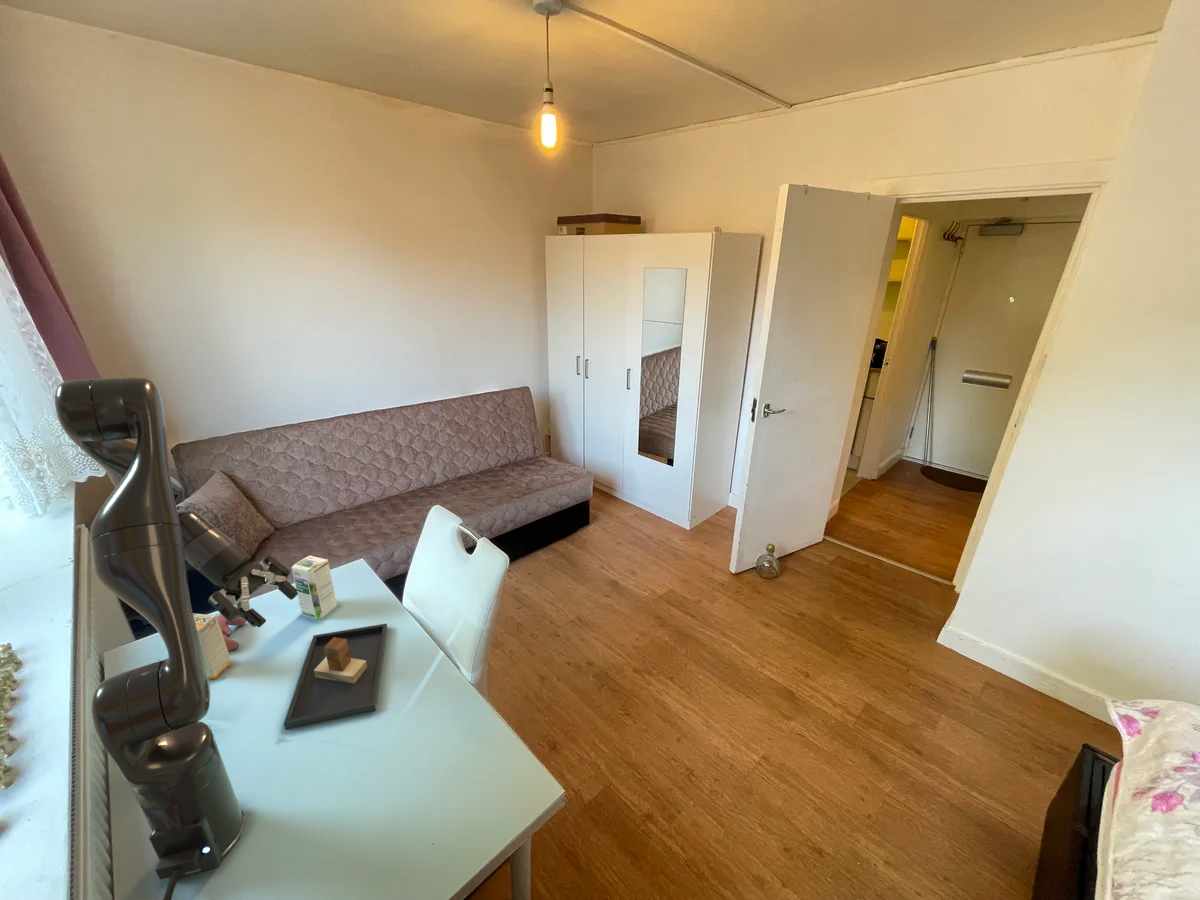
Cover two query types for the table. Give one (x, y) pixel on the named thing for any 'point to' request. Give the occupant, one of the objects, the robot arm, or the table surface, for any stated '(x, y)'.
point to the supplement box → (212, 644)
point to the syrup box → (314, 586)
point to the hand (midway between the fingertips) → (279, 610)
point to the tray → (334, 697)
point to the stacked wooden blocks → (340, 663)
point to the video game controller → (226, 629)
